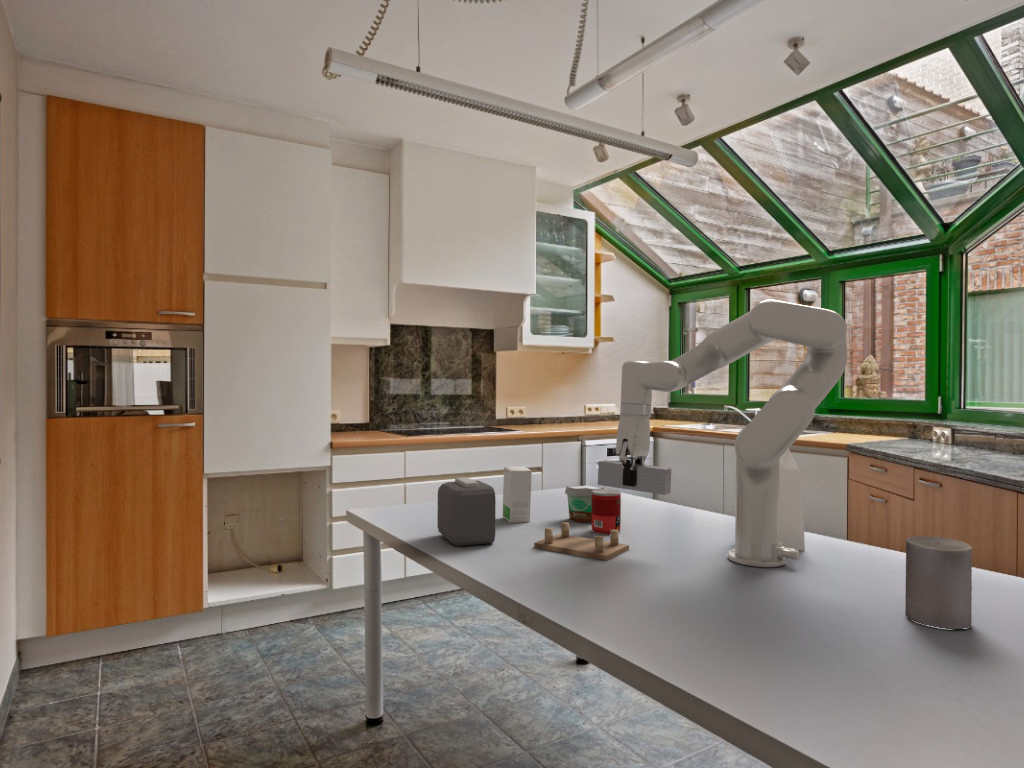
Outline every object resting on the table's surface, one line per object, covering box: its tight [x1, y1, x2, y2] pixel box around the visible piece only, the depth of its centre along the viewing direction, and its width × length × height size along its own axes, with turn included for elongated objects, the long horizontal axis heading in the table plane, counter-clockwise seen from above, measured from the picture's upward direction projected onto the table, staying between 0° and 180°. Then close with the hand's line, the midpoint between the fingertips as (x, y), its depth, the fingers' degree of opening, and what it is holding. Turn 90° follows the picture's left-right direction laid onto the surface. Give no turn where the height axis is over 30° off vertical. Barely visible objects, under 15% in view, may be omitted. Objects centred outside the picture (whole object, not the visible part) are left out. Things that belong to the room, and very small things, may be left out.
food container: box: [564, 486, 605, 524], centre depth 192 cm, size 12×6×10 cm, turn 73°
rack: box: [533, 521, 630, 562], centre depth 161 cm, size 20×12×5 cm, turn 55°
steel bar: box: [597, 459, 672, 496], centre depth 161 cm, size 18×4×6 cm, turn 54°
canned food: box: [591, 488, 622, 535], centre depth 180 cm, size 8×8×11 cm
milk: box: [779, 447, 806, 551], centre depth 167 cm, size 12×12×26 cm
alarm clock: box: [437, 476, 497, 547], centre depth 169 cm, size 16×11×16 cm
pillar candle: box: [904, 534, 973, 629], centre depth 113 cm, size 10×10×15 cm
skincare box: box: [502, 465, 532, 524], centre depth 194 cm, size 8×7×16 cm
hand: (632, 484), depth 161 cm, fingers closed on steel bar, 3 cm apart
